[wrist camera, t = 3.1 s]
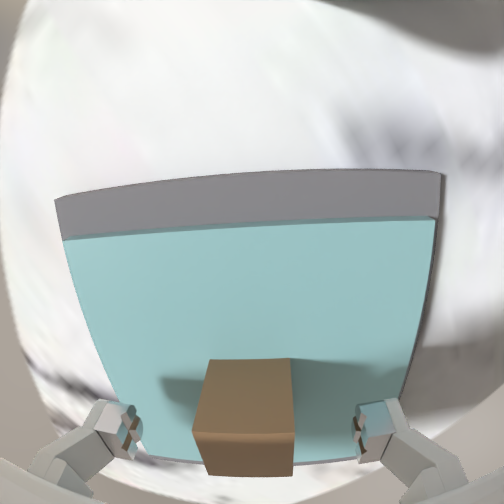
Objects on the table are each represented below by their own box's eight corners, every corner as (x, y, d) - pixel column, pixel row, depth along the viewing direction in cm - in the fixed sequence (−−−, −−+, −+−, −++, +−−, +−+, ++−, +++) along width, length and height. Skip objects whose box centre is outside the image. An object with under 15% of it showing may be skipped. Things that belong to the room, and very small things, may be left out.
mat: (430, 170, 9) (441, 173, 9) (374, 445, 15) (377, 455, 14) (65, 195, 10) (54, 199, 10) (153, 448, 16) (150, 457, 15)
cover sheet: (427, 215, 9) (498, 259, 5) (374, 444, 14) (388, 501, 10) (70, 236, 10) (0, 281, 6) (151, 446, 15) (133, 501, 11)
